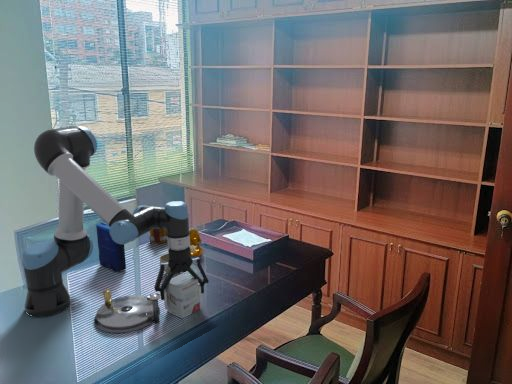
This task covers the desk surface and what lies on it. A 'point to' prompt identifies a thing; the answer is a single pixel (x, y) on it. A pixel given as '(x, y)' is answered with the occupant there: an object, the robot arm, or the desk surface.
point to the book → (110, 249)
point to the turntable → (124, 311)
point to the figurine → (195, 243)
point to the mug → (158, 236)
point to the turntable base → (155, 319)
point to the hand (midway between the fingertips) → (183, 304)
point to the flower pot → (165, 259)
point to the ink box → (182, 295)
